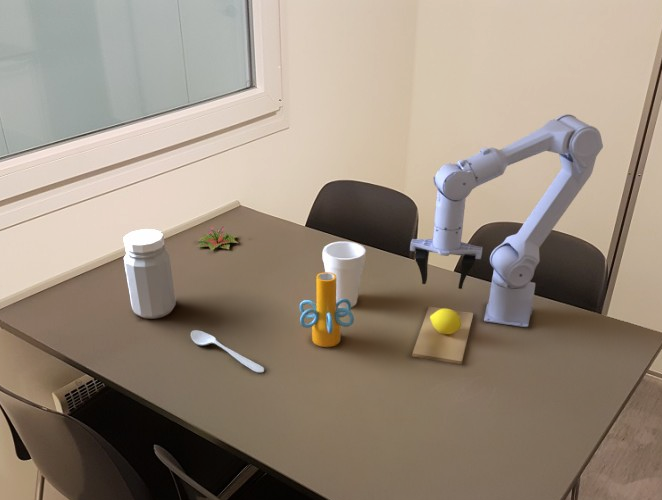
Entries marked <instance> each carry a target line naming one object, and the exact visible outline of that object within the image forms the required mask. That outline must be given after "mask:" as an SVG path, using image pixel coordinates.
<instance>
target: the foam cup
mask: <svg viewBox="0 0 662 500" xmlns="http://www.w3.org/2000/svg"><path fill="white" fill-rule="evenodd" d="M366 251H367V250H366V248H365V247H364V246H363V245H361V244H360V243H357V242H353V241H334V242H331V243H328V244H327V245H325V246H323V249H322V261H323V265H324V272H331V273H334V274H335V275H336V303H337V302H338V301H339V300H341V299H348V300H349V301H350V303H351V308H353V307H355V306H356V305H357V303H358V299H359V292H360V288H361V287H360V286H361V281H362V276H363V269H364V265H365V262H366V253H367V252H366ZM339 308H346V309H347V303H346V302H343V303H341V304H340V305H339V306H338V308H337V309H339Z"/></svg>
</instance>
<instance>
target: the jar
mask: <svg viewBox="0 0 662 500" xmlns="http://www.w3.org/2000/svg"><path fill="white" fill-rule="evenodd" d="M123 243H124V247H125V253H126V254H125V255H124V257H123V264H124V269H125V276H126V282H127V287H128V293H129V298H130V299H129V300H130V304H131V309H132V312H133V313H134V314H135V315H137V316H139V317H140V318H143V319H151V320H152V319H160V318H163V317H165V316H168V315H169V314H171V312H172V311H173V309H174V308H175V307H176V305H177V303H176V296H175V295H176V294H175V288H174V287H175V286H174V279H173V271H172V264H171V256H170V254H169V252H168V250H167V249H166V246H165V235H164V234H163V232H162V231H159V230H156V229H151V228H149V229H148V228H144V229H137V230H134V231H131V232H129V233H127V234H126V235H125V236H124V237H123Z"/></svg>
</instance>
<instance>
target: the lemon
mask: <svg viewBox="0 0 662 500" xmlns="http://www.w3.org/2000/svg"><path fill="white" fill-rule="evenodd" d="M441 308H442V307H441ZM453 310H454V309H450V308H442V309H440V310H437V311H436V312H435V313H434V314H432V315H431V316H430V319H431V322H432V324H433V326H434V328H435V329H436V330H437V331H438V332H439V333H443V334H452V333H455V332H456V331H457V330H458V329H459V328H460V327H461V320H460V316H459V315H458V314H457V312H455V311H453Z"/></svg>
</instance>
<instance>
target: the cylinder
mask: <svg viewBox="0 0 662 500" xmlns="http://www.w3.org/2000/svg"><path fill="white" fill-rule="evenodd" d="M315 277H316V278H315V279H316V282H315V283H316V286H315V287H316V289H315V291H316V302H314V301H313V300H310V299H304V300H302V301H301V302H300V304H299V311H300V313H301V315H300V318H299V322H300V325H301V327H303V328H305V329H309V328H311V340H312V342H313V344H314V345H316V346H318V347H321V348H331V347H335V346H337V345H338V344H339V343H340V342H341V336H342V335H341V330H342V327H344V328H347V327H350V326H352V325H353V324H354V321H355V317H354V314H353V312H352V311H351V309H352V307H351V303H350V301H349V300H348V299H341V300H339V301H338V302H337V303H336V275H335V274H334V273H331V272H325V271H322V272H320V273H318V274H316V276H315ZM343 302H346V303H347V308H338V306H339V305H340V304H341V303H343ZM305 305H310V306H312V308H307V309H306V310H305V309H304V306H305ZM310 313H313V314H310ZM347 315H348V316H349V321H348V322H344V321H342V320H341V319H340V318H344V317H346V316H347ZM305 318H307V319H313V320H312V321H311V322H309V323H306V322H305Z"/></svg>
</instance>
